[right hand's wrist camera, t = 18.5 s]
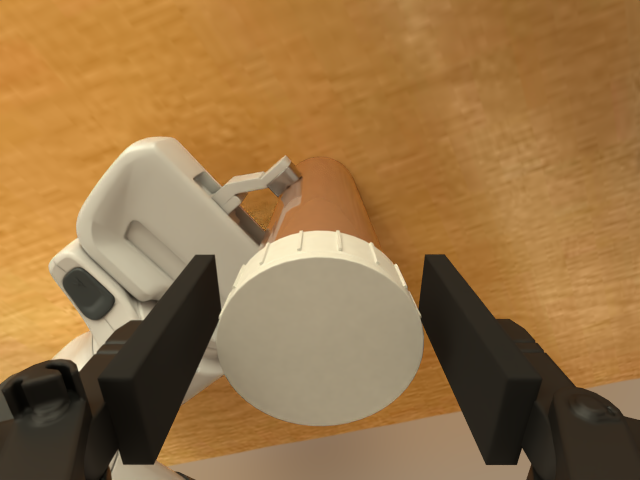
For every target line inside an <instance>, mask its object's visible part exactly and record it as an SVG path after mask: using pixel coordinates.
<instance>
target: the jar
mask: <svg viewBox="0 0 640 480" xmlns="http://www.w3.org/2000/svg"><path fill="white" fill-rule="evenodd" d="M296 167H297V169H298V170H299V171H300V172H301V173H302V174H301V177H300V179H299V180H298V181H297V182H296V183H294V184H293V185H291V186H288V187H287V190H286V191H285V192H284V193H283V194H281V195H280V197H279V200H278V202H277V204H276V207H275V209H274V212H273V214H272V217H271V219H270V222H269V224H268V227H267V229H266V232H265V234H264V237H263V239H262V241H261V244H260V246H259V249H258V251H257V253H258V252H259V251H260V250H262V249H263V248H264V247H265V246H266V244H267V243H268V242H269V243H270V244H271V243H273V242H275V241H276V240H278V239H281V238H283V237H286V236H289V235H292V234H296V233H299V231H302V230H303V232H308V231H333V232H336V230H339V231H340V233H344V234H348V235H351V236H354V237H357V238H359V239H362V240H364V241H366V242H368V243H370V242H372V243H373V244H374V247H376V248H377V249H378V250H380V251H381V252H382V253H383V251H382V248H381V246H380V243H379V241H378V238H377V236H376V234H375V231H374V229H373V226H372V224H371V221H370V219H369V216H368V214H367V211H366V209H365V206H364V204H363V202H362V199H361V197H360V194H359V192H358V189H357V187H356V184H355V182H354V179H353V177H352V175H351V173H350V172H349V171H348V169H347V168H346V167H345V166H344V165H342V164H341V163H339V162H338V161H336V160H334V159H331V158H327V157H313V158H309V159H306V160H304V161H302V162H301V163H299V164H298V165H296Z"/></svg>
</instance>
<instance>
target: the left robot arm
mask: <svg viewBox="0 0 640 480" xmlns="http://www.w3.org/2000/svg"><path fill="white" fill-rule="evenodd" d="M301 174H302V173H301V172H300V171H299V170H298V169H297V167H296V166H295V165H294V164H293V163H292V161H291V160H290V159H289V158H288V157H287V156H286V155H285V156H284V157H282V158H281V159H280V160H279V161H278V162H277V163H276V164H275V165H273V166H272V167H271V168H270V169H269V170H268V171H267V172H264V171H263V172H257V173H252V174H246V175H240V176H234V177H233V178H232V179H231V180H229V181H228V182H227V183H226V184H225V185H224V186H223V187H222V186H221V185H220V184H219V183H218V182H217V181H216V180H215V179H214V178H213V177H212V176H211V175H210V174H209V173H208V172H207V171H206V170H205V169H204V168H203V166H202V165H201V164H200V163H199V162H198V161H197V160H196V159H195V158H194V157H193V156H192V155H191V154H190V153H189V152H188V151H187V150H186V149H185V148H184V147H183V146H182V145H181V144H180V143H179V142H178V141H177V140H176V139H175V138H172V137H150V138H145V139H142V140H139V141H137V142H135V143H133V144H132V145H130V146H129V147H128V148H127V149H126V150H125V151H124V152H123V153H122V154H121V155H120V156H119V157H118V158H117V159H116V160H115V161H114V163H113V164H112V165H111V166H110V167H109V169H108V170H107V171H106V172H105V174H104V175H103V176H102V178H101V179H100V180H99V182H98V183H97V184H96V186H95V187H94V189H93V190H92V192H91V193H90V195H89V196H88V198H87V199H86V201H85V202H84V204H83V206H82V208H81V210H80V212H79V215H78V218H77V223H76V232H77V237H78V238H76V239H75V240H73V241H72V242H71V243H69V244H68V245H67V246H66V247H64V248H63V249H62V250H61V251H60V252H59V253H58V254H57V255H55V256H54V257H53V258H52V260H51V261H50V263H49V271H50V274H51V276H52V277H53V279H54V280H55V282H56V283H57V284H58V285H59V287H60V288H61V289H62V291H63V292H64V293H65V294H66V296H67V297H68V298H69V300H70V301H71V302H72V304H73V305H74V307H75V308H76V309H77V311H78V312H79V314H80V315H81V317H82V318H83V320H84V321H85V323H86V325H87V326H88V328H89V330H90V331H88V332H86V333H84V334H82V335H80V336H78V337H77V338H75V339H73V340H72V341H71V342H69V343H68V344H67V345H66V346H65V347H64V348H63V349H62V350H60V351H59V352H58V353H57V354H56V355H55V356H54V357H53V358H52V359H51V360H55V359H67V360H71V361H73V362H74V363H75V364H76V365H77V368H78V371H80V370H81V369H82V368H83V367H84V365H85V364H86V363H87V362H88V361H89V360H90V359H91V357H92V356H93V355H94V354H96V353H97V351H98V349H99V348H100V347H101V346H102V345H103V344H105V341H106V340H107V339H108V338H109V337H110V336H111V335H112V333H113V332H114V331H115V330H116V329H118V328H120V327H121V326H123V325H124V324H126V323H127V322H129V321H130V320H144V319H145V318H146V316H147V315H148V314H149V312H150V311H151V310H152V309H153V307H154V306H155V305H156V304H157V302H158V301H159V300H160V299H161V297H162V296H163V295H164V294H165V292H166V291H167V290H168V288H169V287H170V286H171V285H172V283H173V282H174V281H175V280H176V278H177V277H178V276H179V275H180V273H181V272H182V271H183V270H184V268H185V267H186V266H187V264H188V263H189V262H190V261H191V259H192V258H193V257H194V256H195V255H215V260H216V268H217V276H218V285H219V293H220V301H221V309H223V306H224V304H225V302H226V300H227V298H228V296H229V293H230V292H232V287H233V284H234V282H235V280H236V278H237V276H238V274H239V271H240V269H241V267H242V265H243V264H244V265H246V264H247V263H248V262H249V260H250V259H251V258H252V257H253V256H255V255H256V254H257V251H258V249H259V246H260V244H261V241H262V239H263V237H264V234H265V231H264V230H263V229H262V228H261V227H260V226H259V225H258V224H257V223H256V222H255V220H254V219H253V218H252V217H251V216H250V215H249V214H248V213H247V212H246V211H245V210H244V209H243V208H242V207H241V206H240V204H241V202H242V201H243V200H244V198H245V197H246V196H247V194H248V192H249V191H254V190H259V189H264V188H268V187H269V189H270V190H271V191H272V192H273V193H274V194H275V195H276V196H277V197H279V196H280V195H281V194H283V193H284V192H285V191H286V190H287V187H288V186H291V185H293V184H294V183H296V182H297V181H298V180H299V179H300V177H301ZM218 323H219V322H218ZM217 328H218V324H217V326H216V328H215V331H214V333H213V335H212V337H211V340H210V342H209V344H208V346H207V348H206V351H205V353H204V355H203V357H202V359H201V362H200V364H199V366H198V368H197V371H196V373H195V375H194V377H193V379H192V382H191V384H190V386H189V388H188V390H187V393H186V395H185V397H184V399H183V402H182V404H181V405H183V404H184V403H186V402H187V401H188V400H190V399H191V398H193V397H194V396H195V395H197V394H198V393H199V392H201V391H202V390H204V389H205V388H206V387H208V386H209V385H210V384H212V383H213V382H215V381H216V380H217V379H219V378H220V377H222V376H223V375H224V372H223V370H222V368H221V365H220V362H219V358H218V355H217V346H216V335H217ZM17 374H18V373H17ZM17 374H14V375H12V376H10V377H9V378H7V379H6V380H5V381H4V382H2V383H1V384H0V422H1V421H5V420H10V419H14V418H13V416H12V413H11V411H10V409H9V407H8V404H7V402H6V400H5V397H4V395H3V393H2V391H1V390H2V388H3V387H4V386H5V384H6V383H7V382H8V381H9V380H10V379H11V378H13V377H14V376H15V375H17ZM109 467H110V470H111V476H112V480H195V479H193V478H190V477H188V476H186V475H184V474H182V473H180V472H175V471H173V470H171V469H169V468H168V467H166V466H165V465H163V464H161V463H160V462H158V461H157V460H156V461H155V463H154V465H123V463H122V459H121V456H120V453H119V449H118V450H117V452H116V453H115V455H114V457H113V459H112V460H111V462H110V464H109Z"/></svg>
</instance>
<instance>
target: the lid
mask: <svg viewBox="0 0 640 480" xmlns="http://www.w3.org/2000/svg"><path fill="white" fill-rule="evenodd" d="M407 288H408V287H407V284H406V282H405V280H404V278H403V276H402V274H401V271H400V269H399V267H398V265H397V264H395V265H394V264H393V263H392V261H391V260H390V259H389V258H388V257H387V256H386V255H385V254H384V253H382V252H381V251H380V250H378V249H377V248H376V247H374V244H373V243H372V242H370V243H368V242H366V241H364V240H362V239H359V238H357V237H354V236H351V235H348V234H344V233H340V231H339V230H336V232H333V231H308V232H303V230H302V231H299V233H296V234H292V235H289V236H286V237H283V238H281V239H278V240H276V241H275V242H273V243H271V244H270V243H269V242H268V243H267V244H266V246H265V247H264V248H263V249H262V250H260V251H259V252H258V253H257V254H256V255H255V256H253V257H252V258H251V259H250V260H249V262H248V263H247V264H246V265H244V264H243V265H242V267H241V269H240V271H239V274H238V276H237V278H236V280H235V282H234V284H233V287H232V292H230V293H229V296H228V298H227V300H226V302H225V304H224V306H223V309H222V311H221V313H220V315H219V323H218V328H217V335H216V346H217V355H218V358H219V362H220V365H221V368H222V370H223V372H224V374H225V376H226V378H227V379H228V381H229V383H230V384H231V386H232V387H233V388H234V389H235V390H236V392H237V393H238V394H239V395H240V396H241V397H242V398H244V399H245V400H246V401H247V402H248V403H250V404H251V405H252V406H254V407H255V408H257V409H259V410H260V411H262V412H264V413H266V414H268V415H270V416H272V417H275V418H277V419H280V420H283V421H286V422H290V423H295V424H300V425H308V426H331V425H340V424H345V423H350V422H353V421H357V420H360V419H363V418H365V417H368V416H370V415H372V414H374V413H376V412H378V411H380V410H382V409H383V408H385V407H386V406H388V405H389V404H391V403H392V402H393V401H394V400H395V399H397V398H398V397H399V396H400V395H401V394H402V393H403V392H404V391H405V389H406V388H407V387H408V386H409V384H410V383H411V381H412V380H413V378H414V376H415V374H416V372H417V370H418V368H419V365H420V362H421V359H422V355H423V349H424V333H423V327H422V322H421V319H420V318H421V314H420V312H419V310H418V308H417V306H416V304H415V301H414V299H413V297H412V295H411V293H410V291H408V289H407Z"/></svg>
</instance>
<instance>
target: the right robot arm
mask: <svg viewBox="0 0 640 480" xmlns="http://www.w3.org/2000/svg"><path fill="white" fill-rule="evenodd" d="M418 310H419V312H420V314H421V318H420V319H421V322H422V324H423V326H424V328H425V331H426V333H427V335H428V337H429V340H430V342H431V344H432V346H433V348H434V351H435V353H436V355H437V357H438V359H439V362H440V364H441V366H442V368H443V371H444V373H445V375H446V377H447V379H448V382H449V384H450V386H451V388H452V390H453V393H454V395H455V397H456V399H457V402H458V404H459V406H460V408H461V410H462V412H463V415H464V417H465V419H466V421H467V424H468V426H469V428H470V430H471V432H472V435H473V437H474V439H475V441H476V443H477V446H478V448H479V450H480V452H481V455H482V457H483V459H484V461H485V463H486V465H517V463H518V459H519V456H520V453H521V449H522V448H523V450H524V452H525V453H526V455H527V457H528V459H529V460H530V462H531V467H530V470H529V473H528V476H527V479H526V480H640V420H637V419H633V418H628V417H625V416H623V414H622V413H621V411H620V410H619V409H618V408H617V407H616V406H614V405H613V404H612V403H611V402H610V401H609V400H607V399H605V398H603V397H602V396H600V395H598V394H596V393H594V392H591V391H589V390H586V389H583V388H578V387H576V386H575V385H574V384H573V383H572V382H571V381H570V380H569V378H568V377H567V376H566V375H565V374H564V373H563V372H562V370H561V369H560V368H559V367H558V366H557V365H556V364H555V363H554V361H553V360H552V359H551V358H550V357H549V356H548V355H547V353H544V350H543V349H542V348H541V347H540V346H539V344H538V343H535V340H534V339H533V338H532V337H531V335H530V334H529V333H528V332H527V331H526V330H525V329H524V328H523V327H521V326H519V325H518V324H516V323H515V322H513V321H512V320H510V319H495V318H494V316H493V315H492V314H491V312H490V311H489V310H488V309H487V307H486V306H485V305H484V304H483V302H482V301H481V300H480V299H479V297H478V296H477V295H476V294H475V292H474V291H473V290H472V288H471V287H470V286H469V285H468V283H467V282H466V281H465V280H464V278H463V277H462V276H461V275H460V273H459V272H458V271H457V270H456V268H455V267H454V266H453V264H452V263H451V262H450V261H449V259H448V258H447V257H446V256H445V255H425V260H424V268H423V276H422V285H421V293H420V301H419V309H418ZM221 311H222V309H221V301H220V293H219V285H218V276H217V268H216V260H215V255H195V256H194V257H193V258H192V259H191V261H190V262H189V263H188V264H187V266H186V267H185V268H184V270H183V271H182V272H181V273H180V275H179V276H178V277H177V278H176V280H175V281H174V282H173V283H172V285H171V286H170V287H169V288H168V290H167V291H166V292H165V294H164V295H163V296H162V297H161V299H160V300H159V301H158V302H157V304H156V305H155V306H154V307H153V309H152V310H151V311H150V312H149V314H148V315H147V316H146V318H145V319H144V320H130V321H129V322H127V323H126V324H124V325H123V326H121V327H120V328H118V329H116V330H115V331H114V332H113V333H112V335H111V336H110V337H109V338H108V339H107V340H106V341H105V344H103V345H102V346H101V347H100V348H99V349H98V351H97V353H96V354H94V355H93V356H92V357H91V359H90V360H89V361H88V362H87V363H86V364H85V365H84V367H83V368H82V369H81V370H80V371H78V368H77V365H76V364H75V363H74V362H73V361H71V360H67V359H55V360H48V361H45V362H42V363H39V364H35V365H33V366H31V367H29V368H27V369H25V370H23V371H21V372H19V373H18V374H17V375H15V376H14V377H13V378H11V379H10V380H9V381H8V382H7V383H6V384H5V386H4V387H3V388H2V390H1V391H2V393H3V395H4V397H5V400H6V402H7V404H8V407H9V409H10V411H11V413H12V416H13V418H14V419H10V420H5V421H1V422H0V480H112V476H111V470H110V467H109V464H110V462H111V460H112V459H113V457H114V455H115V453H116V452H117V450H118V449H119V453H120V456H121V459H122V463H123V465H154V463H155V461H156V459H157V457H158V455H159V452H160V450H161V448H162V446H163V444H164V441H165V439H166V437H167V435H168V432H169V430H170V428H171V426H172V424H173V421H174V419H175V417H176V415H177V413H178V410H179V408H180V406H181V404H182V402H183V399H184V397H185V395H186V393H187V390H188V388H189V386H190V384H191V382H192V379H193V377H194V375H195V373H196V371H197V368H198V366H199V364H200V362H201V359H202V357H203V355H204V353H205V351H206V348H207V346H208V344H209V342H210V340H211V337H212V335H213V333H214V331H215V328H216V326H217V324H218V322H219V315H220V313H221Z"/></svg>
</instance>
